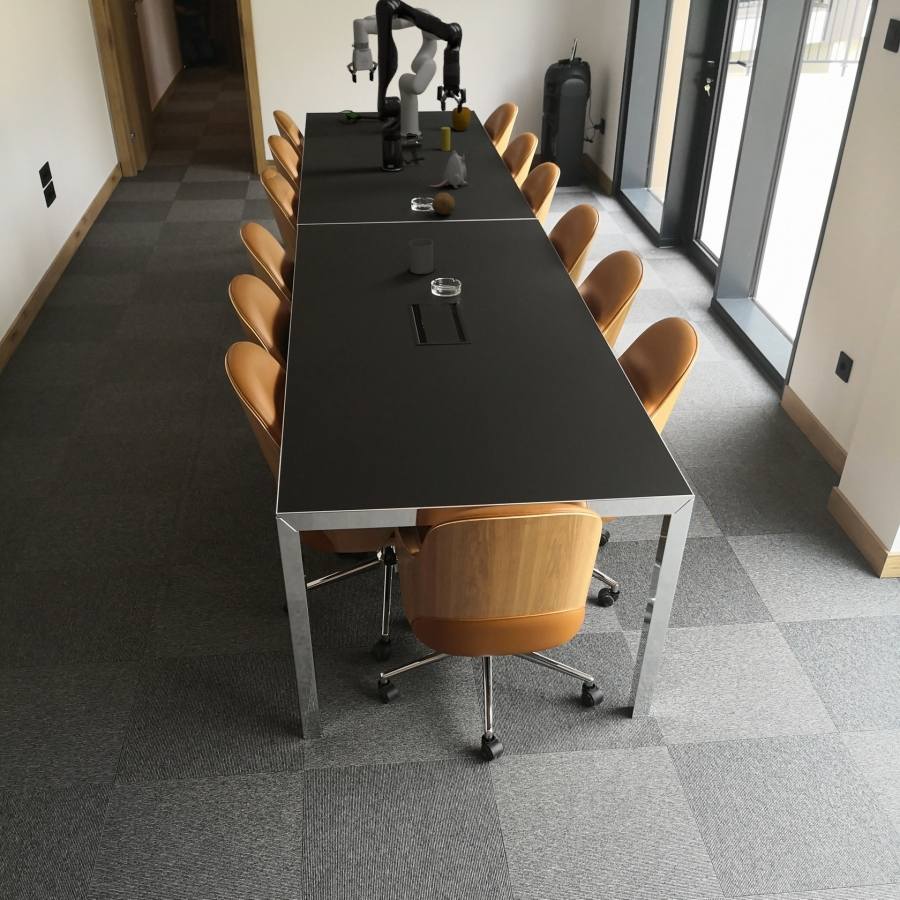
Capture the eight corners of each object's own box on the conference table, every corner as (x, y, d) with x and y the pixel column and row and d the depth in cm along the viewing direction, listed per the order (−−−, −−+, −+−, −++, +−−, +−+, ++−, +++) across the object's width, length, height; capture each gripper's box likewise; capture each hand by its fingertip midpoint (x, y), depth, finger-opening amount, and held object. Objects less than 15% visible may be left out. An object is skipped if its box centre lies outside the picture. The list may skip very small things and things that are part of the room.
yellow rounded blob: (471, 132, 486) (471, 108, 479) (451, 132, 486) (451, 108, 479) (470, 128, 495) (471, 104, 488) (452, 128, 495) (452, 104, 488)
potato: (453, 208, 369) (453, 189, 365) (456, 218, 357) (456, 199, 353) (431, 208, 368) (430, 189, 364) (432, 218, 356) (432, 199, 352)
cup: (409, 265, 311) (408, 238, 306) (432, 265, 312) (431, 238, 307) (410, 274, 304) (409, 246, 299) (433, 273, 305) (433, 246, 299)
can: (449, 151, 451) (449, 129, 445) (440, 150, 452) (440, 128, 446) (451, 149, 455) (451, 127, 449) (442, 148, 456) (442, 126, 450)
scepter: (388, 107, 510) (337, 105, 507) (388, 120, 503) (336, 118, 500) (388, 116, 515) (337, 114, 512) (388, 129, 507) (337, 127, 505)
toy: (472, 184, 399) (472, 151, 391) (436, 195, 384) (436, 161, 376) (457, 180, 404) (458, 147, 396) (422, 191, 389) (421, 157, 381)
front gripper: (469, 73, 381) (469, 112, 390) (443, 70, 388) (443, 108, 396) (460, 76, 376) (460, 115, 384) (433, 72, 382) (433, 111, 391)
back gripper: (349, 48, 437) (351, 84, 446) (379, 45, 445) (381, 81, 454) (343, 46, 442) (345, 82, 452) (373, 43, 450) (374, 79, 459)
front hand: (451, 112), depth 390 cm, fingers open, 8 cm apart
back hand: (363, 81), depth 453 cm, fingers open, 9 cm apart
